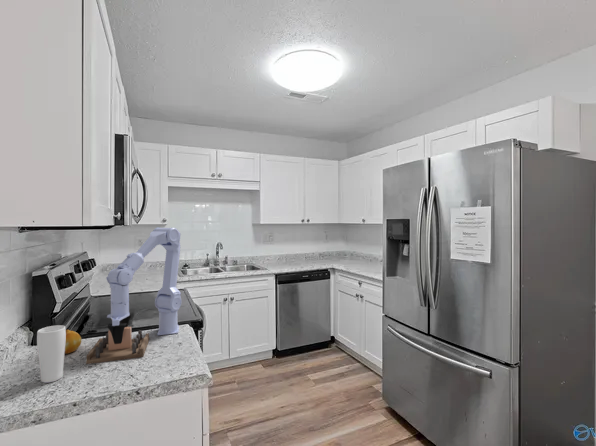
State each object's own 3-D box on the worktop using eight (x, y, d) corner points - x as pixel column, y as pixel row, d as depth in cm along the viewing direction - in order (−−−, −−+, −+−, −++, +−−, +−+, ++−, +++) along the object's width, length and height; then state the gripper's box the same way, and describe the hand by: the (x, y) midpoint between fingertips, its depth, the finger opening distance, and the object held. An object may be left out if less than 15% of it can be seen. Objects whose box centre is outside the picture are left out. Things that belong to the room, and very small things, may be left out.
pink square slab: (109, 348, 114) (109, 328, 114) (131, 345, 116) (131, 326, 116) (108, 350, 112) (108, 330, 112) (130, 347, 114) (130, 328, 114)
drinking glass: (50, 386, 90) (49, 333, 90) (31, 383, 92) (30, 332, 92) (71, 374, 97) (71, 325, 97) (53, 372, 98) (53, 324, 98)
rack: (99, 345, 119) (99, 333, 119) (149, 340, 125) (149, 328, 125) (86, 364, 104) (85, 350, 104) (143, 356, 109) (143, 343, 109)
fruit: (43, 350, 110) (56, 329, 111) (58, 343, 118) (71, 324, 119) (64, 362, 110) (77, 341, 111) (78, 354, 118) (90, 334, 119)
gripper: (112, 298, 120) (112, 333, 120) (101, 308, 106) (102, 348, 106) (133, 296, 122) (133, 331, 122) (125, 306, 108) (125, 345, 108)
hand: (120, 339), depth 114 cm, fingers open, 7 cm apart
